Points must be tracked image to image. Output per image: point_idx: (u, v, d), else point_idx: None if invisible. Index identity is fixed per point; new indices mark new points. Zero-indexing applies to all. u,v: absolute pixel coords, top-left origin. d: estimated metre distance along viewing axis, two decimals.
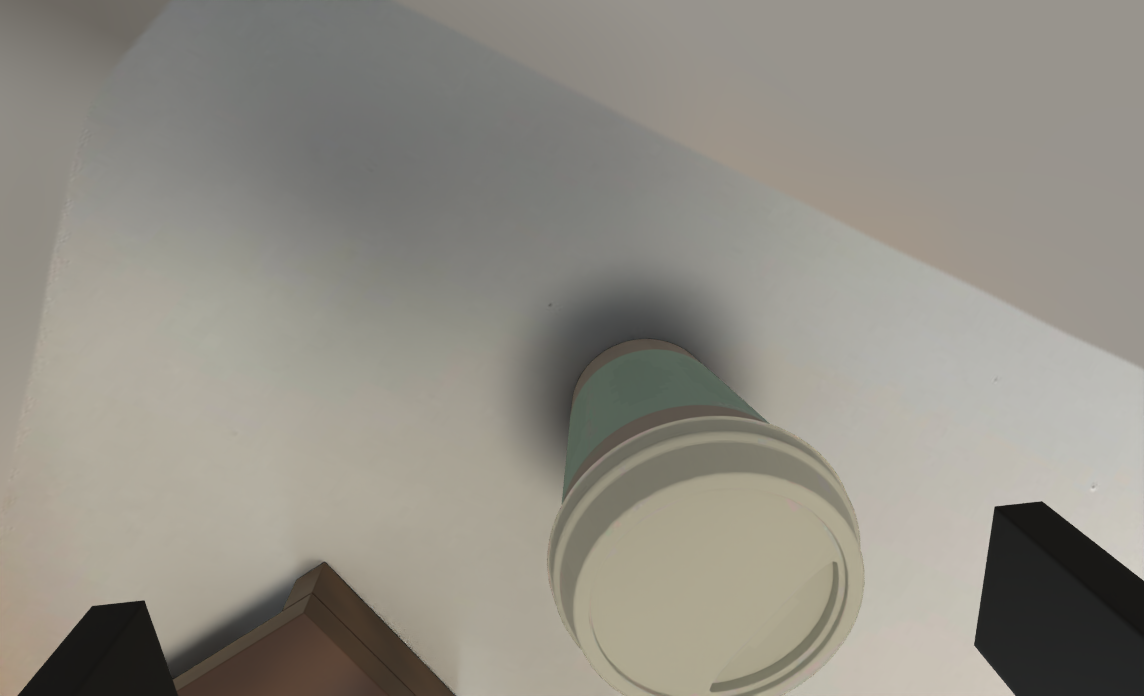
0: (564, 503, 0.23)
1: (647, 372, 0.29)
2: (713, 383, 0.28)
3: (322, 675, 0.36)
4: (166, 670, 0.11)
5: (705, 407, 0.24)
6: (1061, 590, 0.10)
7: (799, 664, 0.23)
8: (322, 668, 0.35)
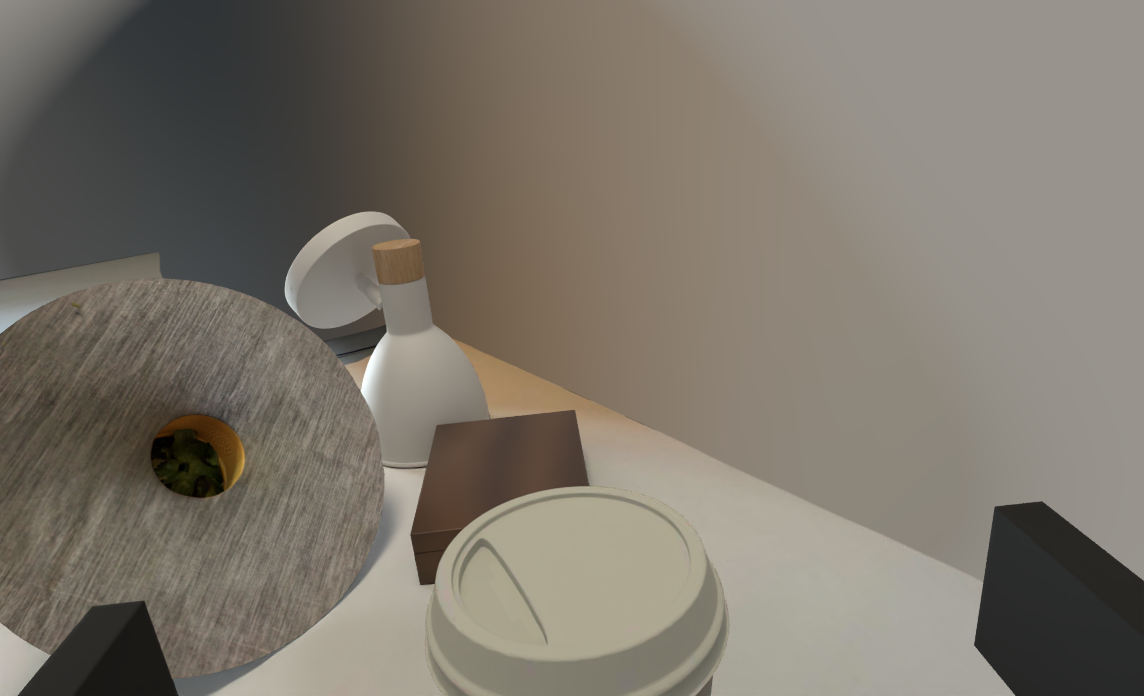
0: None
1: None
2: None
3: None
4: (166, 670, 0.11)
5: None
6: (1060, 591, 0.10)
7: (455, 592, 0.23)
8: None
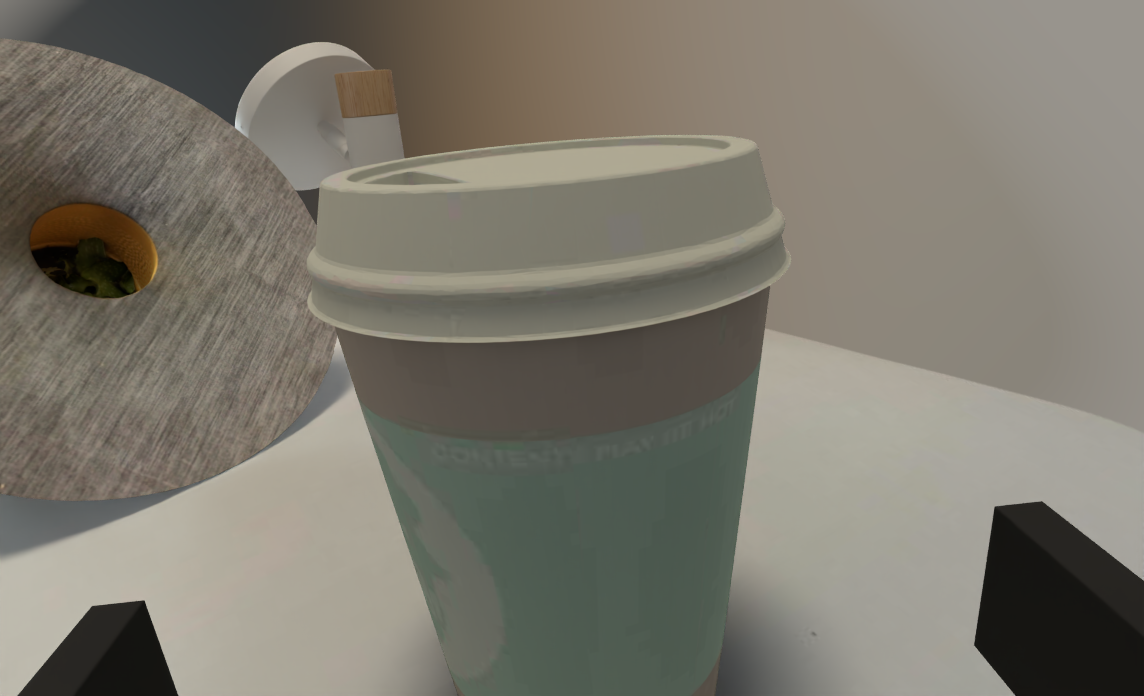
0: None
1: (738, 524, 0.17)
2: (699, 544, 0.15)
3: None
4: (166, 671, 0.11)
5: (749, 366, 0.14)
6: (1061, 591, 0.10)
7: None
8: None
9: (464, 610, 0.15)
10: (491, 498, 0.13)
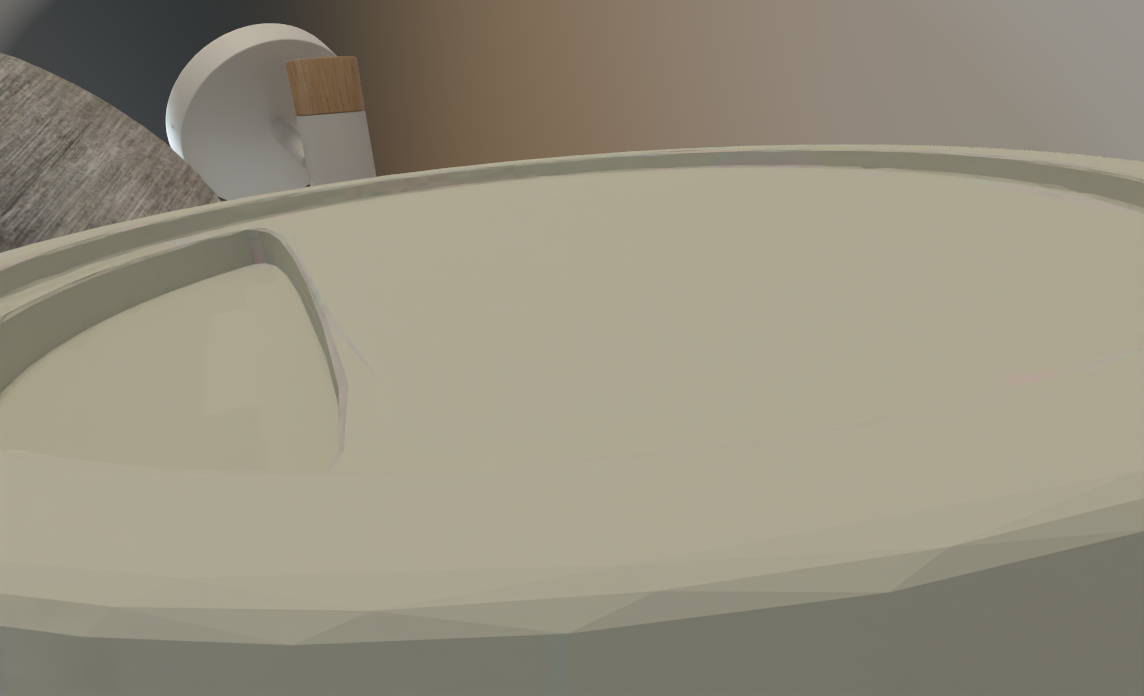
0: None
1: None
2: None
3: None
4: None
5: None
6: None
7: None
8: None
9: None
10: None
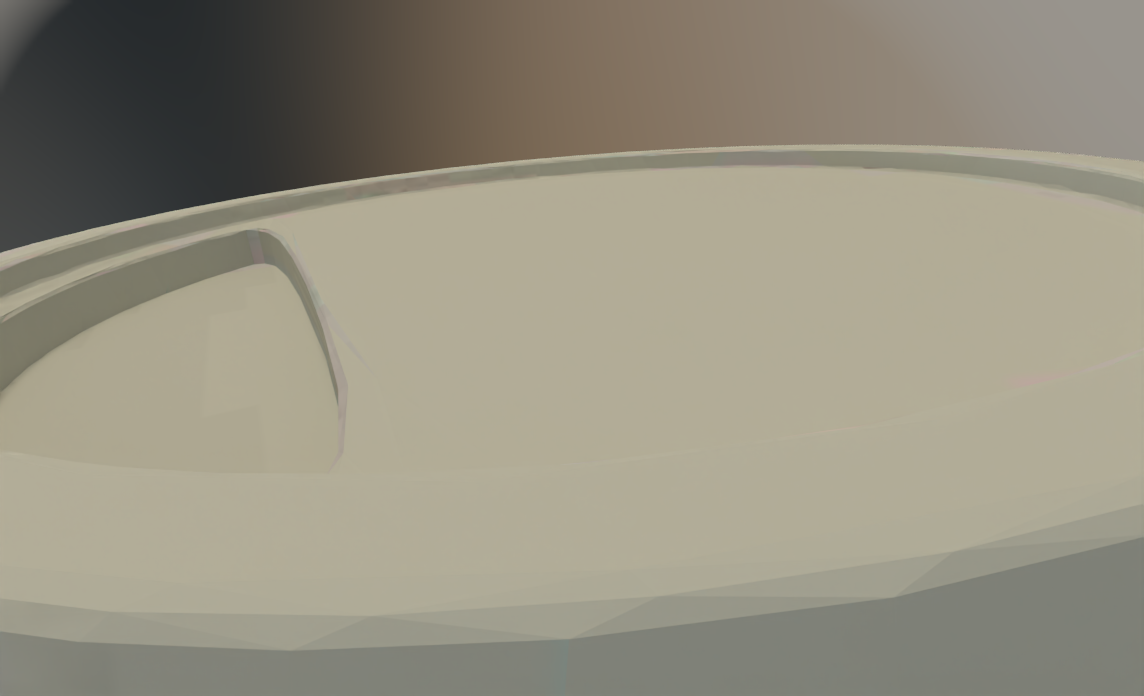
0: None
1: None
2: None
3: None
4: None
5: None
6: None
7: None
8: None
9: None
10: None
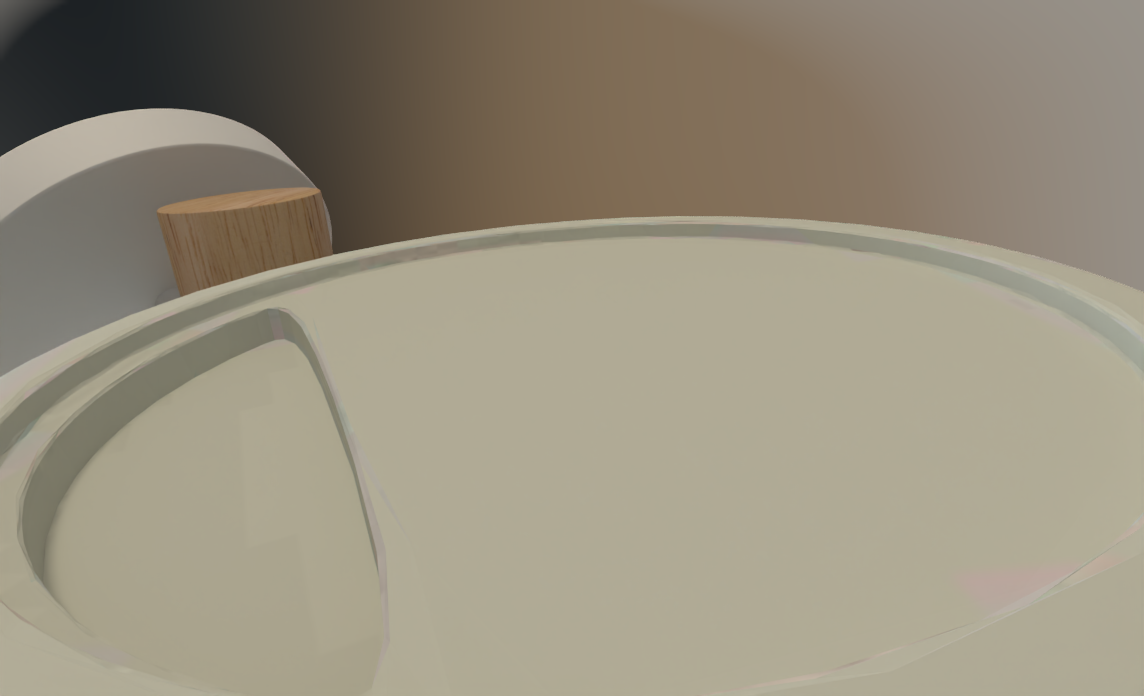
0: None
1: None
2: None
3: None
4: None
5: None
6: None
7: (31, 424, 0.05)
8: None
9: None
10: None
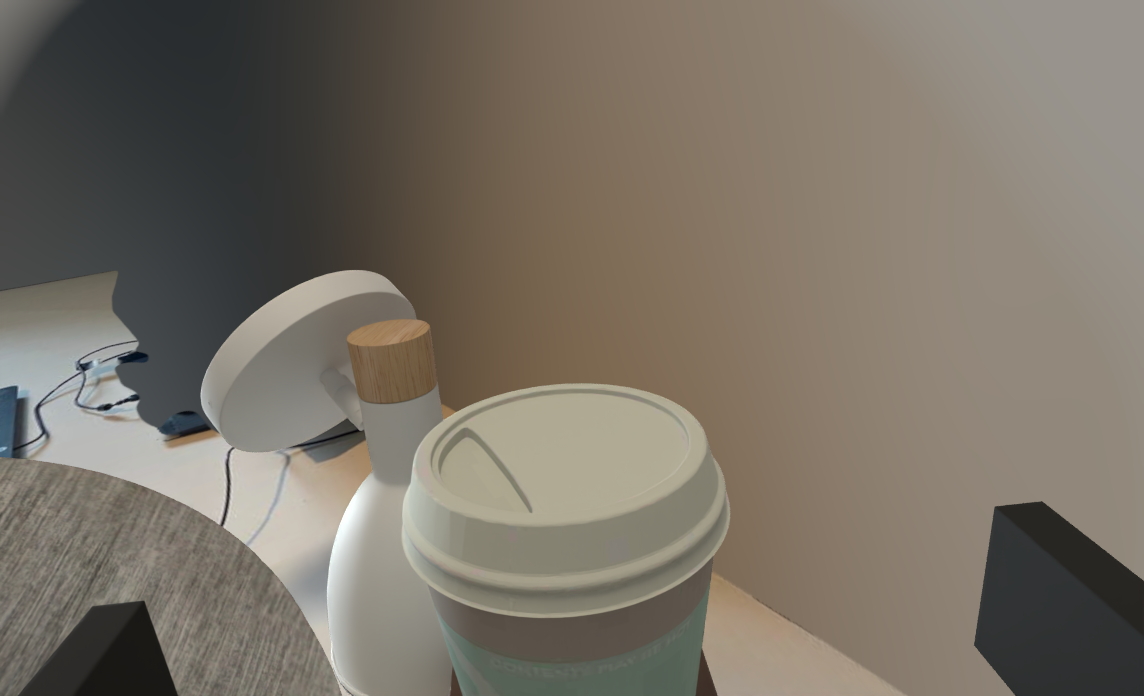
0: None
1: None
2: None
3: None
4: (166, 670, 0.11)
5: (700, 595, 0.21)
6: (1061, 591, 0.10)
7: (433, 471, 0.22)
8: None
9: None
10: (529, 693, 0.20)
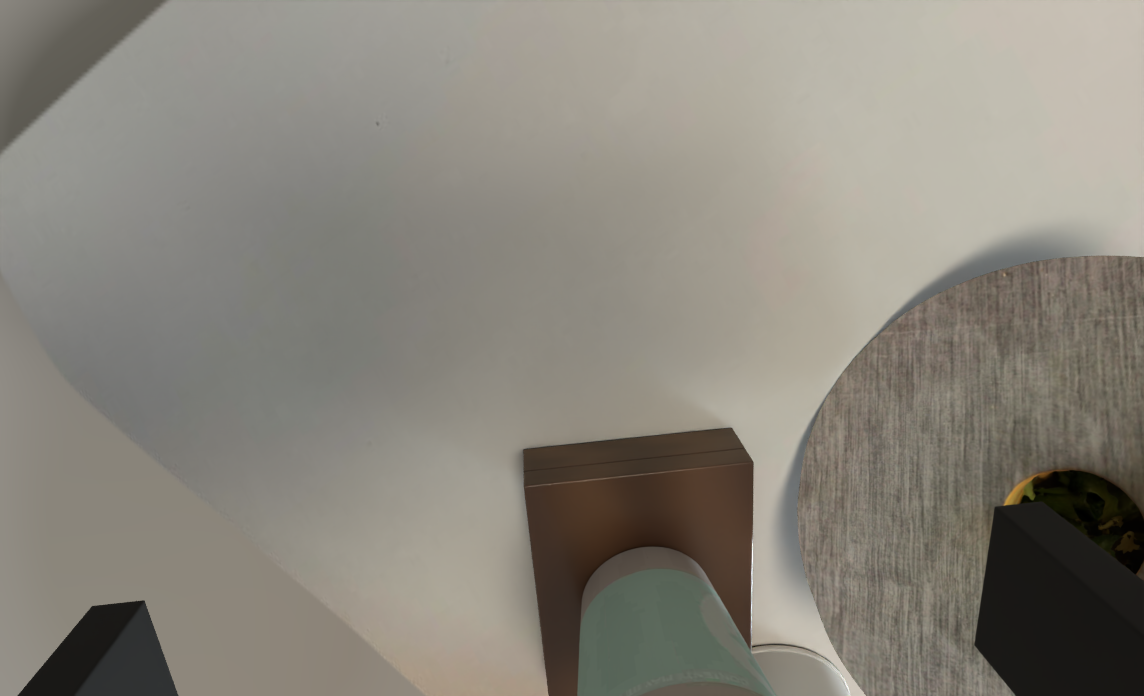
0: None
1: (581, 670, 0.33)
2: (612, 649, 0.31)
3: (594, 508, 0.37)
4: (166, 671, 0.11)
5: None
6: (1060, 591, 0.10)
7: None
8: (587, 504, 0.37)
9: (720, 620, 0.33)
10: (716, 660, 0.29)
